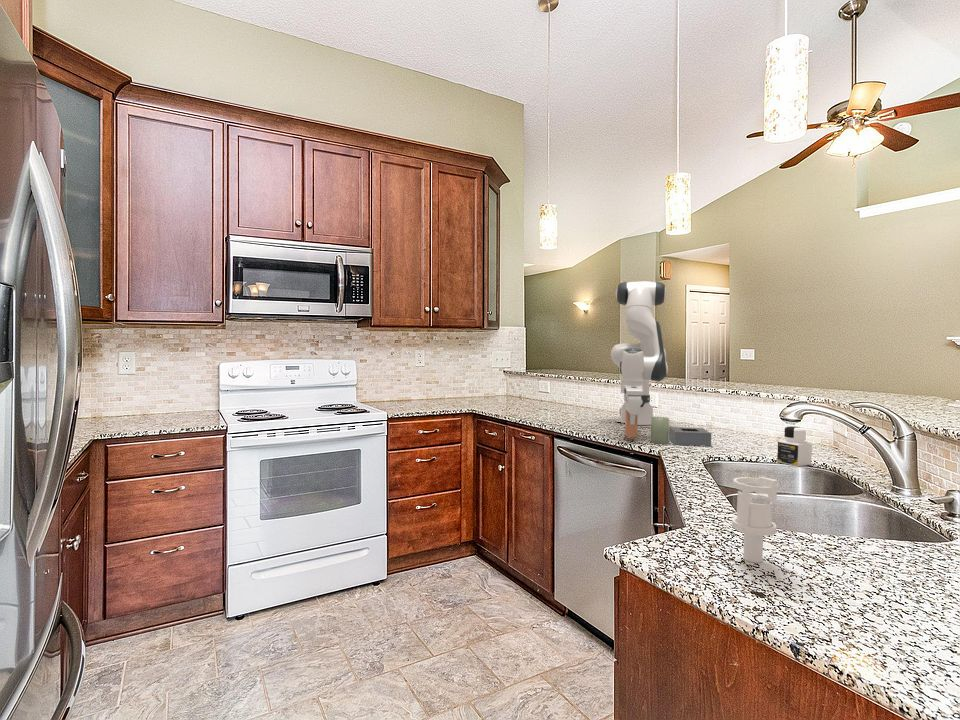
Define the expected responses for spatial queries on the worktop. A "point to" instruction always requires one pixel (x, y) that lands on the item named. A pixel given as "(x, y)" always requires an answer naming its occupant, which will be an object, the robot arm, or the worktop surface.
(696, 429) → the bore block
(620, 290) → the robot arm
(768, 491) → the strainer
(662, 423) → the green rectangular block
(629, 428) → the square bit
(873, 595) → the worktop surface
